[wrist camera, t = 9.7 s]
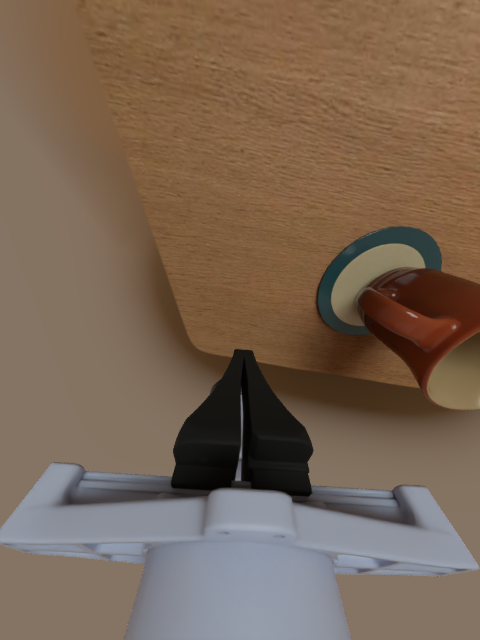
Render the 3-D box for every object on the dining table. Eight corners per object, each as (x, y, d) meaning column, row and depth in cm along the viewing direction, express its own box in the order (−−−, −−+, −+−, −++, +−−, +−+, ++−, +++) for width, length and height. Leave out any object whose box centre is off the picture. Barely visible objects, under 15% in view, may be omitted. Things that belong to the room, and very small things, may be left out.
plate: (375, 346, 23) (377, 347, 23) (296, 313, 21) (297, 315, 21) (467, 258, 17) (471, 259, 17) (371, 201, 15) (374, 201, 15)
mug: (455, 273, 18) (664, 331, 9) (390, 339, 22) (487, 421, 13) (356, 228, 16) (494, 243, 7) (305, 308, 20) (353, 381, 11)
